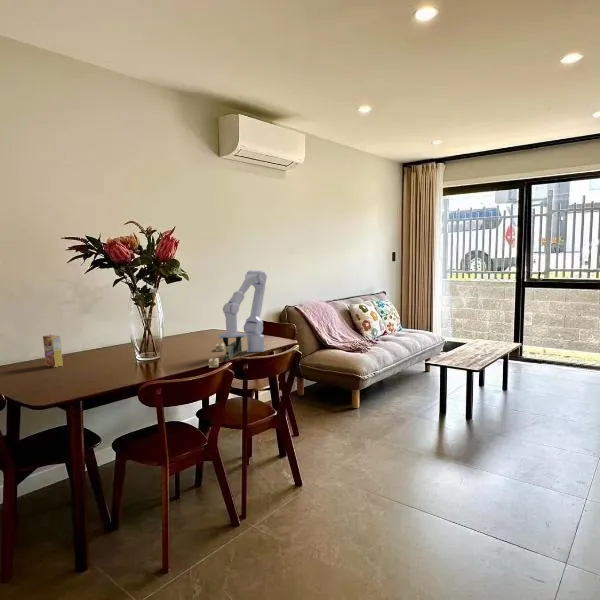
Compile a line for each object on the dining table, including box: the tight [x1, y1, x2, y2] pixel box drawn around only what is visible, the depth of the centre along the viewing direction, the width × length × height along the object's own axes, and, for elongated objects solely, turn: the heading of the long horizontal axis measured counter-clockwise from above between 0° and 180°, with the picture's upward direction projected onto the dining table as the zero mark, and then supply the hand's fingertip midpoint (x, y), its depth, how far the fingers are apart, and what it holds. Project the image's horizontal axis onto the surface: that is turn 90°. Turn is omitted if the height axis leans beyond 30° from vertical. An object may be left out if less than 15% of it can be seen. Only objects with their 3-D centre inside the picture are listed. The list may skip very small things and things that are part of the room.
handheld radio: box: [222, 339, 243, 362], centre depth 237 cm, size 7×3×25 cm
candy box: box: [42, 334, 64, 368], centre depth 226 cm, size 9×4×15 cm, turn 57°
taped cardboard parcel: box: [208, 342, 225, 368], centre depth 237 cm, size 4×42×3 cm, turn 5°
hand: (232, 351), depth 237 cm, fingers closed on handheld radio, 4 cm apart
